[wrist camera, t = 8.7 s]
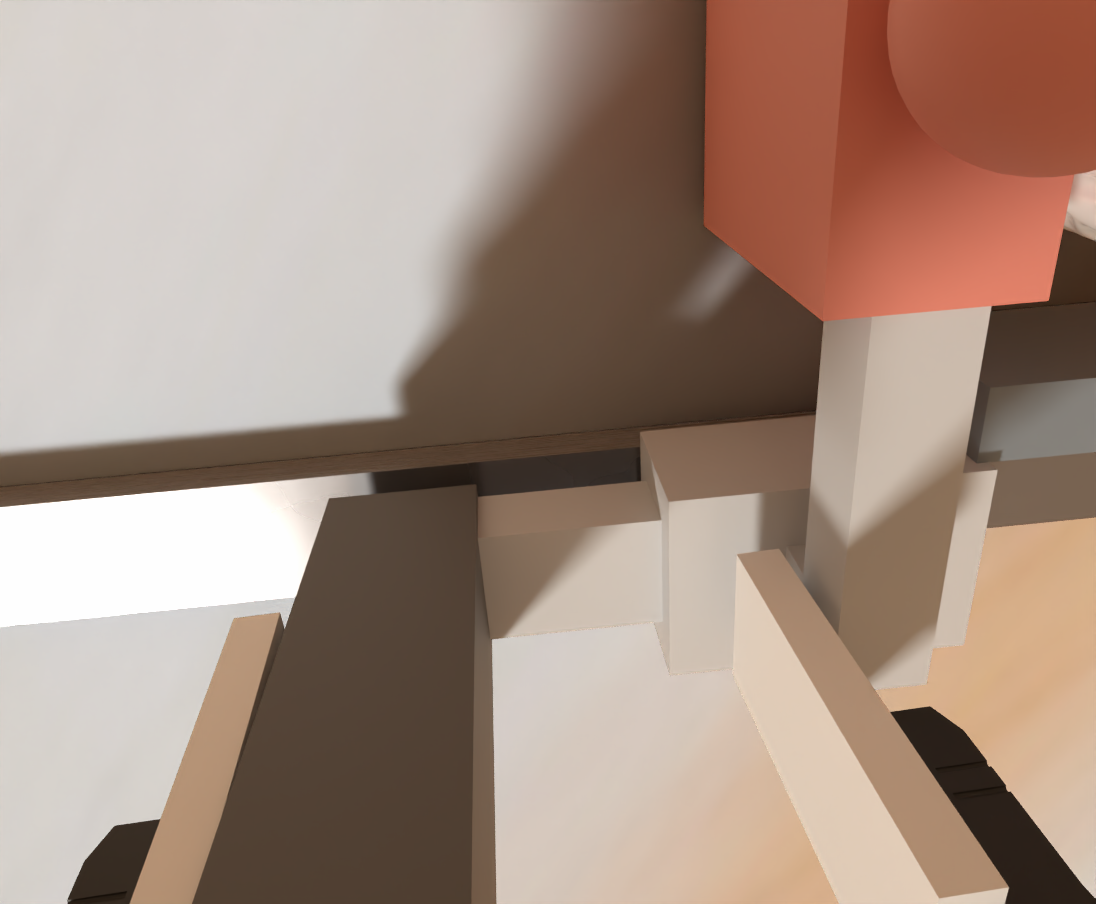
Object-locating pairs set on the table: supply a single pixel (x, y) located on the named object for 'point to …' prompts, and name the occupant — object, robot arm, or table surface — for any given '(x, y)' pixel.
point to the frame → (1036, 385)
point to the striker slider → (700, 445)
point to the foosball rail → (298, 507)
